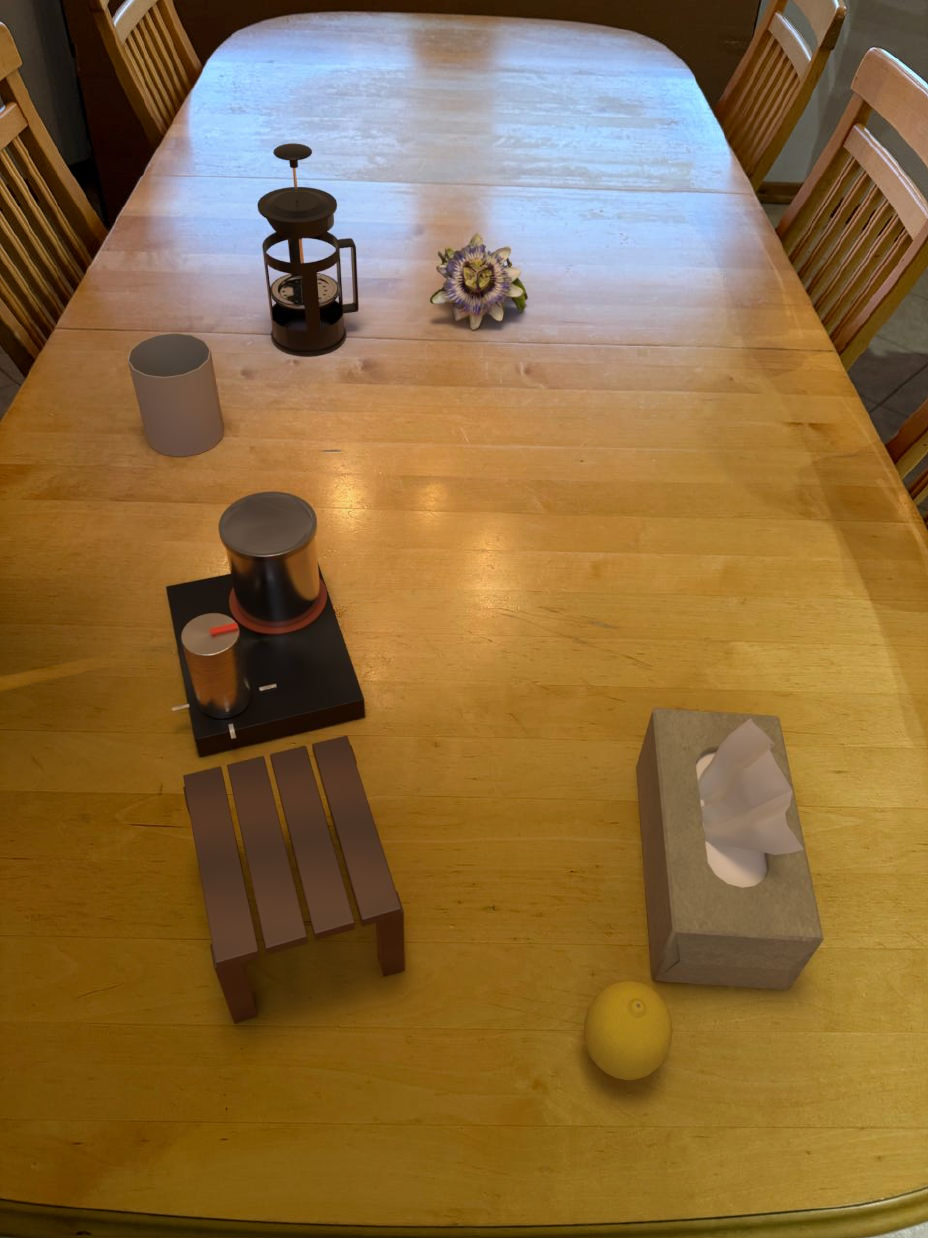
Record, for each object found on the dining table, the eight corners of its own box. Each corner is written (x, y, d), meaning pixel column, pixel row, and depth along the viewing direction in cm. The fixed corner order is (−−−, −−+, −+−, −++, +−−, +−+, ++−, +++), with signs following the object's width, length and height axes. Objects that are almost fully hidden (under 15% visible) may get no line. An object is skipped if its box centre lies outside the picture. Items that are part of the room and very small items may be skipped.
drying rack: (202, 849, 75) (179, 775, 68) (356, 808, 78) (350, 734, 71) (234, 1027, 66) (211, 964, 59) (406, 973, 69) (405, 907, 62)
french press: (272, 361, 120) (249, 170, 103) (260, 321, 126) (236, 134, 109) (367, 348, 123) (359, 160, 106) (350, 310, 129) (340, 126, 112)
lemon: (658, 1104, 64) (682, 1060, 58) (573, 1087, 65) (588, 1042, 59) (661, 1019, 68) (684, 970, 62) (581, 1004, 68) (596, 954, 62)
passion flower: (473, 363, 131) (424, 307, 122) (460, 307, 137) (412, 249, 127) (547, 321, 127) (503, 259, 118) (531, 265, 133) (487, 202, 123)
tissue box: (791, 995, 69) (866, 887, 58) (651, 985, 69) (699, 876, 58) (753, 770, 82) (808, 645, 70) (635, 762, 82) (671, 636, 70)
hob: (156, 607, 92) (150, 587, 90) (317, 574, 96) (315, 555, 94) (184, 769, 80) (179, 750, 78) (367, 724, 84) (366, 705, 82)
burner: (221, 575, 92) (221, 574, 92) (315, 557, 94) (315, 555, 94) (238, 644, 86) (238, 642, 86) (337, 622, 88) (337, 621, 88)
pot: (225, 575, 91) (211, 500, 85) (313, 557, 93) (305, 483, 87) (241, 638, 86) (227, 564, 80) (333, 618, 88) (326, 545, 82)
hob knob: (202, 724, 80) (184, 658, 74) (194, 684, 83) (176, 616, 77) (256, 711, 81) (243, 645, 75) (246, 672, 84) (233, 605, 78)
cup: (131, 437, 109) (110, 358, 102) (185, 402, 114) (169, 324, 107) (186, 466, 106) (168, 386, 99) (239, 429, 111) (227, 351, 103)
